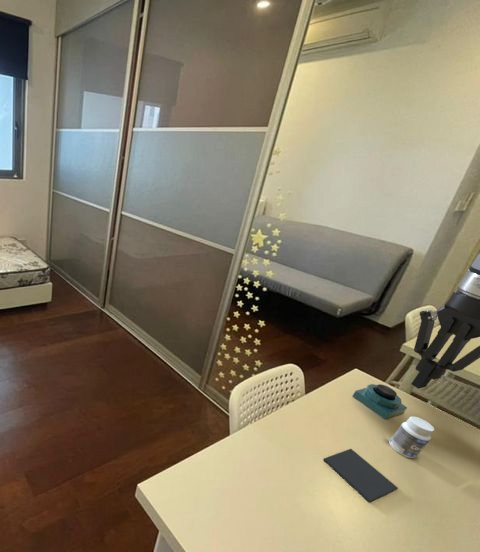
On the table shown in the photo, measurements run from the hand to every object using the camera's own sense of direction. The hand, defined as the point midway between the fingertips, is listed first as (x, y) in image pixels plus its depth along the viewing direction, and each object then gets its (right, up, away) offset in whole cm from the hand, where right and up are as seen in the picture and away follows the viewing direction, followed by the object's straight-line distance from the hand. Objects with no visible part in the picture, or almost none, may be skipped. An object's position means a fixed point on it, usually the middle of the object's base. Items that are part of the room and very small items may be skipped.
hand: (418, 385), depth 74 cm
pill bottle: (-4, -15, 0) cm, 15 cm away
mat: (-20, -16, -8) cm, 27 cm away
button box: (+2, -9, +12) cm, 16 cm away
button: (+2, -6, +11) cm, 13 cm away
